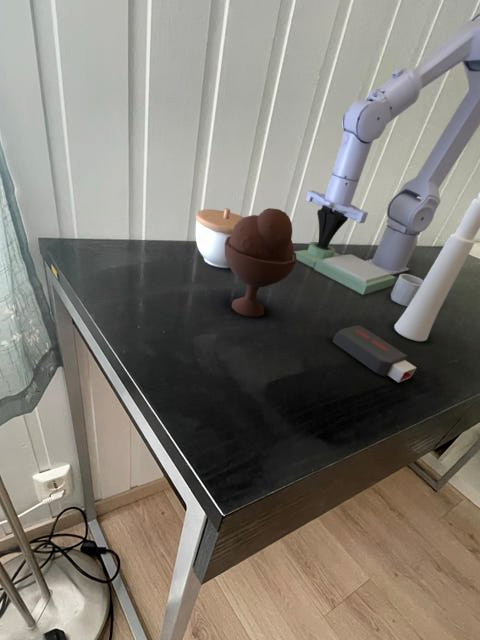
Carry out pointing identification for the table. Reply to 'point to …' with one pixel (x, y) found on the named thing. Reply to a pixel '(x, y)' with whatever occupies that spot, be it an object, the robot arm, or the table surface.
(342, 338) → the usb drive
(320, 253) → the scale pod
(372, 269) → the scale
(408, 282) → the grey cup
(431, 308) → the cosmetic bottle
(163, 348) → the table surface
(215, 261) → the trinket box
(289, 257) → the ice cream bowl
